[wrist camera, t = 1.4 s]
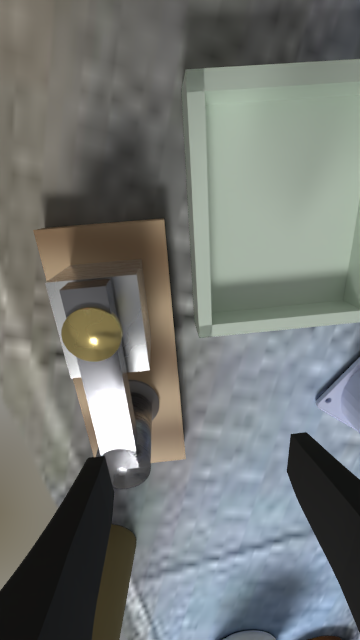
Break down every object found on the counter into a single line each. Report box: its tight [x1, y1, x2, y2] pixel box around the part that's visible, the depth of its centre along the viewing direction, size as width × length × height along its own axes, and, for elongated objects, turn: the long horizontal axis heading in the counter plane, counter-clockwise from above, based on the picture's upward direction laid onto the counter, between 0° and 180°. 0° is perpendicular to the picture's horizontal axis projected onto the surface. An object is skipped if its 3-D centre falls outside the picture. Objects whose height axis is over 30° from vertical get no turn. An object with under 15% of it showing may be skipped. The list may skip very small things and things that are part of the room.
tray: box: [181, 59, 360, 338], centre depth 16 cm, size 13×11×2 cm
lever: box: [59, 279, 152, 489], centre depth 15 cm, size 12×3×5 cm, turn 4°
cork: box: [92, 524, 136, 640], centre depth 23 cm, size 6×6×11 cm
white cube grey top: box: [45, 259, 151, 378], centre depth 15 cm, size 5×4×4 cm
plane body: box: [33, 218, 186, 463], centre depth 19 cm, size 18×7×2 cm, turn 4°
